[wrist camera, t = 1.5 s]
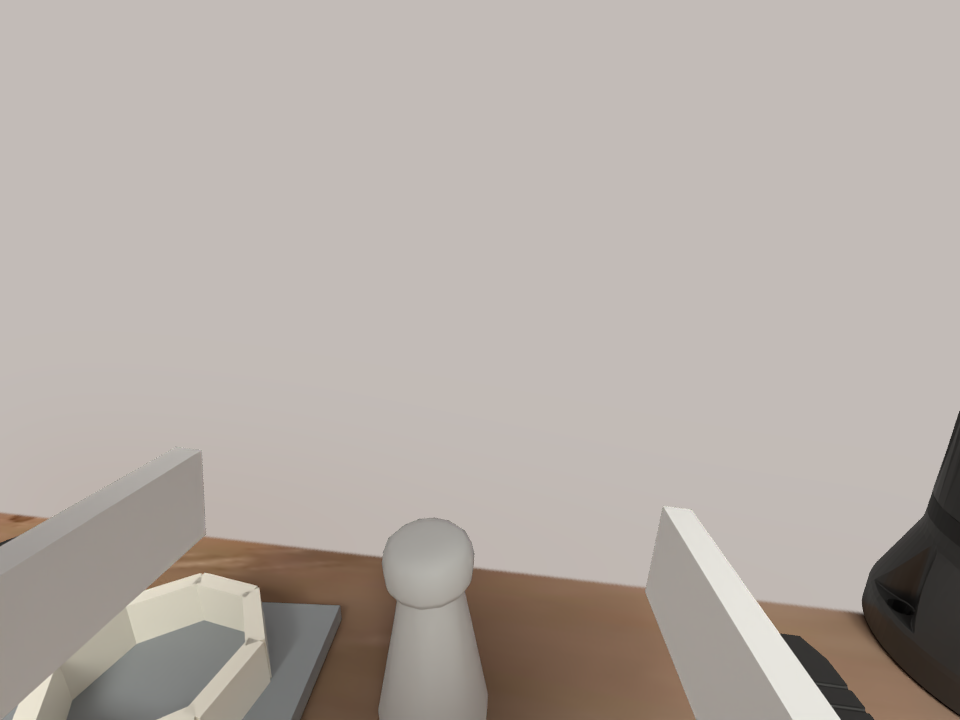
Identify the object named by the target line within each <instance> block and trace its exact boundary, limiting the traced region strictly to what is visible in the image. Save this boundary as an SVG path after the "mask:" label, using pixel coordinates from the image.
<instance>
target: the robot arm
mask: <svg viewBox="0 0 960 720" xmlns="http://www.w3.org/2000/svg"><path fill="white" fill-rule="evenodd" d="M205 535H206V528H205V509H204V486H203V465H202V450H197V449H188V448H181V447H175V448H174V449H172V450H170V451H168V452H166V453H165V454H163V455H161V456H159V457H158V458H156V459H154V460H152V461H151V462H149V463H147V464H145V465H143V466H142V467H140V468H138V469H137V470H135V471H133V472H131V473H129V474H128V475H126V476H124V477H122V478H121V479H119V480H117V481H115V482H113V483H112V484H110V485H108V486H106V487H104V488H103V489H101V490H99V491H97V492H96V493H94V494H92V495H90V496H89V497H87V498H85V499H83V500H81V501H80V502H78V503H76V504H74V505H73V506H71V507H69V508H67V509H65V510H64V511H62V512H60V513H59V514H57V515H55V516H53V517H51V518H50V519H48V520H46V521H44V522H42V523H41V524H39V525H37V526H35V527H34V528H32V529H30V530H28V531H27V532H25V533H23V534H21V535H19V536H17V537H14V538H12V539H9V540H6V541H4V542H1V543H0V720H2V719H3V718H4V717H5V716H6V715H7V714H8V713H9V712H10V711H12V710H13V709H14V708H15V707H16V706H17V705H18V704H19V703H20V702H21V701H23V700H24V699H25V698H26V697H27V696H28V695H29V694H30V693H31V692H33V691H34V690H35V689H36V688H37V687H38V686H39V685H40V684H41V683H42V682H44V681H45V680H46V679H47V678H48V677H49V676H50V675H51V674H52V673H54V672H55V671H56V670H57V669H58V668H59V667H60V666H61V665H62V664H63V663H65V662H66V661H67V660H68V659H69V658H70V657H71V656H72V655H73V654H74V653H76V652H77V651H78V650H79V649H80V648H81V647H82V646H83V645H84V644H86V643H87V642H88V641H89V640H90V639H91V638H92V637H93V636H94V635H95V634H97V633H98V632H99V631H100V630H101V629H102V628H103V627H104V626H105V625H107V624H108V623H109V622H110V621H111V620H112V619H113V618H114V617H115V616H116V615H118V614H119V613H120V612H121V611H122V610H123V609H124V608H125V607H126V606H127V605H129V604H130V603H131V602H132V601H133V600H134V599H135V598H136V597H137V596H139V595H140V594H141V593H142V592H143V591H144V590H145V589H146V588H147V587H148V586H150V585H151V584H152V583H153V582H154V581H155V580H156V579H157V578H158V577H160V576H161V575H162V574H163V573H164V572H165V571H166V570H167V569H168V568H169V567H171V566H172V565H173V564H174V563H175V562H176V561H177V560H178V559H179V558H180V557H182V556H183V555H184V554H185V553H186V552H187V551H188V550H189V549H190V548H192V547H193V546H194V545H195V544H196V543H197V542H198V541H199V540H200V539H201V538H203V537H204V536H205ZM645 593H646V595H647V598H648V600H649V603H650V605H651V608H652V610H653V613H654V615H655V618H656V620H657V623H658V625H659V628H660V630H661V633H662V635H663V638H664V640H665V643H666V645H667V648H668V650H669V653H670V655H671V658H672V660H673V663H674V665H675V668H676V670H677V673H678V675H679V678H680V680H681V683H682V685H683V688H684V690H685V693H686V695H687V698H688V700H689V703H690V706H691V708H692V711H693V713H694V716H695V718H696V720H874V719H873V717H872V716H871V715H870V714H868V713H866V712H865V707H864V706H863V705H862V703H861V702H860V701H859V700H858V698H857V697H856V696H855V694H854V693H853V692H852V691H850V690H848V688H847V684H846V683H845V682H844V680H843V679H842V678H841V677H840V675H839V674H838V673H837V671H836V670H835V669H834V668H833V666H832V665H831V664H830V663H829V661H828V660H827V659H826V658H825V657H824V656H822V655H821V654H820V653H819V652H818V651H817V650H815V649H814V648H813V647H812V646H811V645H809V644H808V643H807V642H806V641H805V640H804V639H802V638H801V637H800V636H795V635H787V634H780V633H779V632H778V631H777V629H776V628H775V626H774V625H773V624H772V622H771V621H770V619H769V618H768V617H767V615H766V614H765V612H764V611H763V610H762V608H761V607H760V605H759V604H758V603H757V601H756V600H755V598H754V597H753V596H752V594H751V593H750V591H749V590H748V589H747V587H746V586H745V584H744V583H743V582H742V580H741V579H740V577H739V576H738V575H737V573H736V572H735V570H734V569H733V568H732V566H731V565H730V563H729V562H728V560H727V559H726V558H725V556H724V555H723V553H722V552H721V551H720V549H719V548H718V546H717V545H716V544H715V542H714V541H713V539H712V538H711V536H710V535H709V534H708V532H707V531H706V530H705V528H704V527H703V525H702V524H701V523H700V521H699V520H698V518H697V517H696V515H695V514H694V513H693V511H692V510H691V509H683V508H675V507H667V506H663V508H662V513H661V518H660V523H659V528H658V533H657V537H656V542H655V547H654V552H653V557H652V561H651V566H650V571H649V576H648V581H647V585H646V590H645ZM862 607H863V612H864V615H865V618H866V620H867V623H868V625H869V627H870V629H871V630H872V632H873V634H874V635H875V637H876V638H877V639H878V641H879V642H880V644H881V645H882V646H883V647H884V649H885V650H886V651H887V652H888V653H889V655H890V656H891V657H892V658H893V659H894V660H895V661H896V662H897V663H898V664H899V665H900V666H901V667H902V668H903V669H904V670H905V671H906V672H907V673H908V674H909V675H910V676H911V677H912V678H913V679H914V680H916V681H917V682H918V683H919V684H920V685H921V686H922V687H924V688H925V689H926V690H927V691H928V692H930V693H931V694H932V695H933V696H935V697H936V698H937V699H939V700H940V701H941V702H942V703H944V704H945V705H946V706H948V707H949V708H951V709H952V710H953V711H955V712H956V713H958V714H959V715H960V411H959V414H958V417H957V420H956V423H955V426H954V430H953V433H952V436H951V439H950V442H949V445H948V449H947V451H946V454H945V457H944V460H943V462H942V465H941V468H940V471H939V474H938V476H937V480H936V482H935V485H934V488H933V492H932V495H931V498H930V501H929V504H928V507H927V509H926V512H925V514H924V516H923V517H922V518H921V519H920V520H919V521H918V522H917V523H916V524H915V525H914V526H913V527H912V528H911V529H910V530H909V531H908V532H907V533H906V534H905V535H904V536H903V537H902V538H901V539H900V540H899V541H898V542H897V543H896V544H895V545H894V546H893V547H892V548H891V549H890V550H889V551H888V552H887V553H886V554H885V555H883V557H881V558H880V559H879V561H877V562H876V564H875V565H874V566H873V568H872V569H871V571H870V573H869V577H868V580H867V584H866V587H865V590H864V593H863V597H862Z"/></svg>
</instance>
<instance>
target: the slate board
mask: <svg viewBox="0 0 960 720" xmlns="http://www.w3.org/2000/svg"><path fill="white" fill-rule="evenodd" d="M262 606H263V612H264V618H265V624H266V632H267V640H268V649H269V657H270V666H271V674H272V678H270V681H271V682H270V683H269V684H268V686H267V687H266V688H265V690H264V691H263V692H262V694H261V695H260V696H259V698H258V699H257V700H256V702H255V703H254V704H253V706H252V707H251V708H250V710H249V711H248V712H247V714H246V715H245V716H244V718H243V719H242V720H300V719H301V716H302V714H303V711H304V709H305V707H306V704H307V702H308V699H309V697H310V694H311V692H312V690H313V687H314V685H315V682H316V680H317V677H318V675H319V673H320V670H321V668H322V665H323V663H324V660H325V658H326V656H327V653H328V651H329V648H330V646H331V643H332V641H333V639H334V636H335V634H336V631H337V629H338V627H339V624H340V622H341V619H342V618H341V609H340V605H317V604H294V603H271V602H262ZM244 643H245V632H243V631H240V630H236V629H233V628H229V627H226V626H222V625H219V624H215V623H212V622H209V621H205V620H203V621H200V622H197V623H194V624H192V625H189V626H186V627H183V628H180V629H177V630H175V631H172V632H169V633H166V634H163V635H160V636H158V637H155V638H152V639H149V640H146V641H143V642H140V643H138V644H136V645H135V646H134V647H132V648H131V649H130V650H129V651H128V652H127V653H126V654H124V655H123V656H122V657H121V658H120V659H119V660H118V661H117V662H115V663H114V664H113V665H112V666H111V667H110V668H109V669H107V670H106V671H105V672H104V673H103V674H102V675H101V676H99V677H98V678H97V679H96V680H95V681H94V682H93V683H91V684H90V685H89V686H88V687H87V688H86V689H85V690H84V691H82V692H81V693H80V694H79V695H78V696H77V697H76V698H74V699H73V700H72V703H71V707H70V710H69V713H68V716H67V720H157V719H159V718H162V717H164V716H166V715H169V714H171V713H173V712H176V711H178V710H181V709H183V708H185V707H188V706H189V705H190V704H191V703H192V702H193V700H194V699H195V698H196V697H197V696H198V695H199V694H200V692H201V691H202V690H203V689H204V688H205V687H206V686H207V685H208V683H209V682H210V681H211V680H212V679H213V678H214V677H215V676H216V674H217V673H218V672H219V671H220V670H221V669H222V668H223V666H224V665H225V664H226V663H227V662H228V661H229V660H230V659H231V657H232V656H233V655H234V654H235V653H236V652H237V651H238V649H239V648H240V647H241V646H242V645H243V644H244ZM18 705H19V704H18ZM18 705H17V706H16V707H15V708H14V709H13V710H12V711H10V712H9V713H8V714H7V715H6V716H5V717H4V718H3V719H2V720H12V719H13V717H14V714H15V712H16V709H17V707H18Z"/></svg>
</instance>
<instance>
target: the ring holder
mask: <svg viewBox="0 0 960 720" xmlns="http://www.w3.org/2000/svg"><path fill="white" fill-rule="evenodd" d="M203 620H205V621H209V622H212V623H215V624H219V625H222V626H226V627H229V628H233V629H236V630H240V631H243V632H245V643H244V644H243V645H242V646H241V647H240V648H239V649H238V651H237V652H236V653H235V654H234V655H233V656H232V657H231V659H230V660H229V661H228V662H227V663H226V664H225V665H224V666H223V668H222V669H221V670H220V671H219V672H218V673H217V674H216V676H215V677H214V678H213V679H212V680H211V681H210V682H209V683H208V685H207V686H206V687H205V688H204V689H203V690H202V691H201V692H200V694H199V695H198V696H197V697H196V698H195V699H194V700H193V702H192V703H191V704H190V705H189V706H188V707H185V708H183V709H181V710H178V711H176V712H173V713H171V714H169V715H166V716H164V717H162V718H159V719H157V720H242V719H243V718H244V716H245V715H246V714H247V712H248V711H249V710H250V708H251V707H252V706H253V704H254V703H255V702H256V700H257V699H258V698H259V696H260V695H261V694H262V692H263V691H264V690H265V688H266V687H267V686H268V684H269V683H270V682H271V681H270V678H272V674H271V666H270V657H269V649H268V640H267V632H266V624H265V618H264V612H263V606H262V601H261V595H260V589H259V588H258V586H256V585H252V584H248V583H244V582H240V581H236V580H232V579H228V578H224V577H220V576H216V575H213V574H209V573H204V574H203V575H202V574H201V573H199V574H196V575H193V576H190V577H186V578H183V579H180V580H177V581H173V582H170V583H167V584H164V585H161V586H157V587H154V588H151V589H148V590H144V591H143V592H142V593H141V594H140V595H139V596H137V597H136V598H135V599H134V600H133V601H132V602H131V603H130V604H129V605H127V606H126V607H125V608H124V609H123V610H122V611H121V612H120V613H119V614H118V615H116V616H115V617H114V618H113V619H112V620H111V621H110V622H109V623H108V624H107V625H105V626H104V627H103V628H102V629H101V630H100V631H99V632H98V633H97V634H95V635H94V636H93V637H92V638H91V639H90V640H89V641H88V642H87V643H86V644H84V645H83V646H82V647H81V648H80V649H79V650H78V651H77V652H76V653H74V654H73V655H72V656H71V657H70V658H69V659H68V660H67V661H66V662H65V663H63V664H62V665H61V666H60V667H59V668H58V669H57V670H56V671H55V672H54V673H52V674H51V675H50V676H49V677H48V678H47V679H46V680H45V681H44V682H42V683H41V684H40V685H39V686H38V687H37V688H36V689H35V690H34V691H33V692H31V693H30V694H29V695H28V696H27V697H26V698H25V699H24V700H23V701H21V702H20V703H19V705H18V707H17V709H16V712H15V714H14V717H13V719H12V720H67V716H68V713H69V710H70V707H71V703H72V700H73V699H74V698H76V697H77V696H78V695H79V694H80V693H81V692H82V691H84V690H85V689H86V688H87V687H88V686H89V685H90V684H91V683H93V682H94V681H95V680H96V679H97V678H98V677H99V676H101V675H102V674H103V673H104V672H105V671H106V670H107V669H109V668H110V667H111V666H112V665H113V664H114V663H115V662H117V661H118V660H119V659H120V658H121V657H122V656H123V655H124V654H126V653H127V652H128V651H129V650H130V649H131V648H132V647H134V646H135V645H136V644H138V643H140V642H143V641H146V640H149V639H152V638H155V637H158V636H160V635H163V634H166V633H169V632H172V631H175V630H177V629H180V628H183V627H186V626H189V625H192V624H194V623H197V622H200V621H203Z"/></svg>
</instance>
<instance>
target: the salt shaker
mask: <svg viewBox="0 0 960 720" xmlns="http://www.w3.org/2000/svg"><path fill="white" fill-rule="evenodd" d="M473 565H474V551H473V546H472V543H471V541H470V539H469V537H468V535H467V533H466V532H465V531H464V530H463V529H461V528H460V527H458V526H456V525H455V524H454V523H452V522H450V521H448V520H443V519H438V518H427V519H418V520H416V521H413V522H411V523H409V524H406V525H404V526H403V527H401V528H400V529H399V530H398V531H397V532H395V533H394V534H393V535H392V536H391V537H389V538H388V541H387V544H386V546H385V549H384V551H383V559H382V567H383V573H384V578H385V583H386V587H387V590H388V592H389V594H390V595H391V596H393V597H394V598H395V599H396V600H397V603H396V610H395V617H394V623H393V628H392V634H391V640H390V646H389V651H388V657H387V663H386V669H385V674H384V680H383V686H382V692H381V697H380V703H379V709H378V713H379V719H380V720H486V716H487V702H488V692H487V688H486V683H485V679H484V674H483V670H482V666H481V661H480V657H479V652H478V648H477V643H476V639H475V634H474V630H473V626H472V621H471V617H470V612H469V608H468V603H467V599H466V595H465V590H466V589H467V587H468V586H469V584H470V582H471V579H472V572H473Z"/></svg>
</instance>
